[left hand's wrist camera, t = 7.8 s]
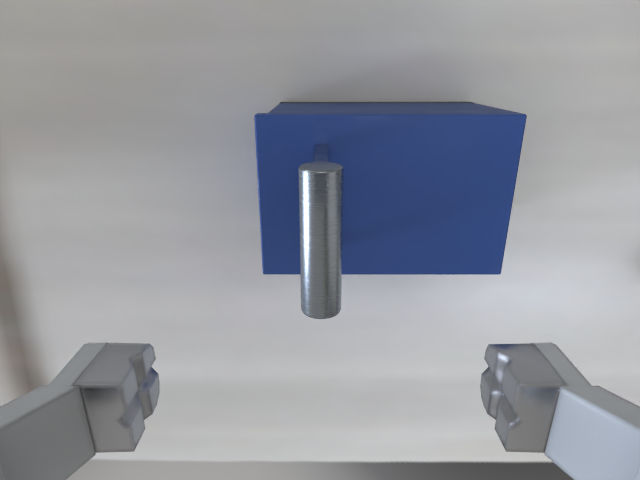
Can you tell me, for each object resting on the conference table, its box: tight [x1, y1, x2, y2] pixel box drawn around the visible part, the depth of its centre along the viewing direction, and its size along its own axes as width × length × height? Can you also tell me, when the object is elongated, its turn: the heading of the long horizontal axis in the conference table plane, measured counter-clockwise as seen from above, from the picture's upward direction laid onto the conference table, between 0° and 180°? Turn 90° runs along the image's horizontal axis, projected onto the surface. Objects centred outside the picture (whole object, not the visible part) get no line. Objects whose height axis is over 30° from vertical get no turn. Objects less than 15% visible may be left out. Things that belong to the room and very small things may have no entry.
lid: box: [254, 113, 526, 319], centre depth 21 cm, size 14×9×8 cm, turn 90°
